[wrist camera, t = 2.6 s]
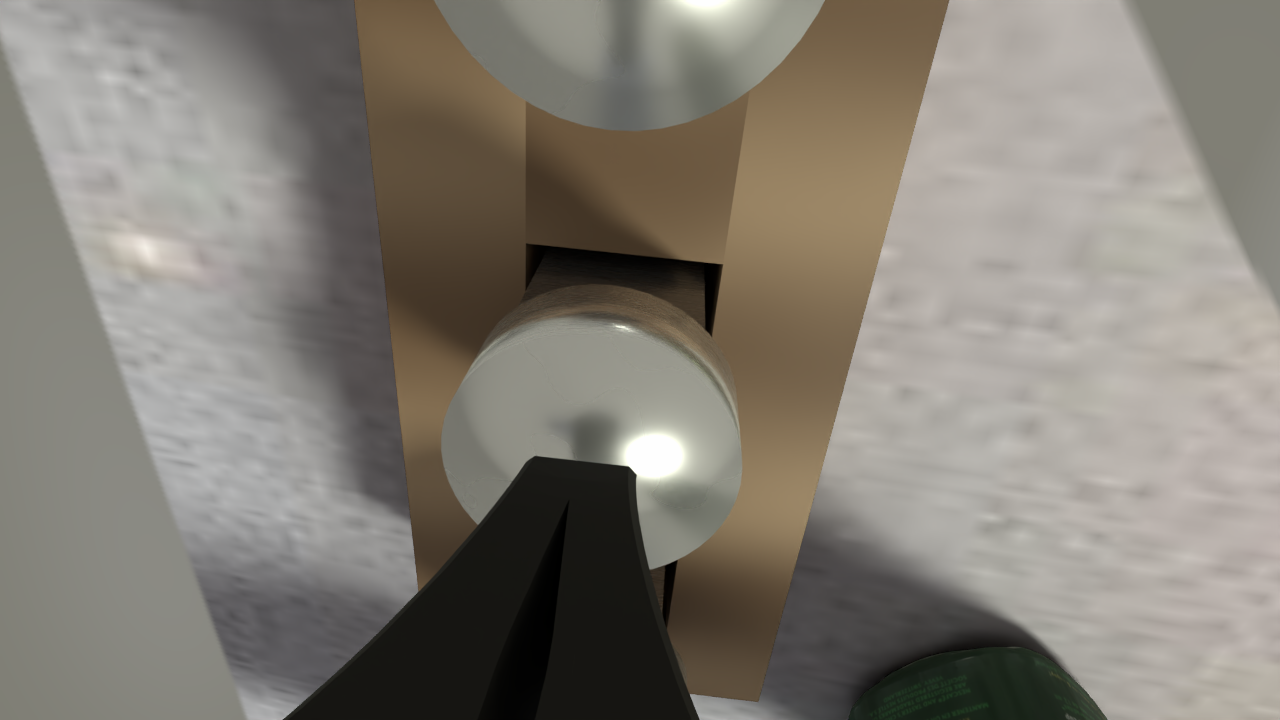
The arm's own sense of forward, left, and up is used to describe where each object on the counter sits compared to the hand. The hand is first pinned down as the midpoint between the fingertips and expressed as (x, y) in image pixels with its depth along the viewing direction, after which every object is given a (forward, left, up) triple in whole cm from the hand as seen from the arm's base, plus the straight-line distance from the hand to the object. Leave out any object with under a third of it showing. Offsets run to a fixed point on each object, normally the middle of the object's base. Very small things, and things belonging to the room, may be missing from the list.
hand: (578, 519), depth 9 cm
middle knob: (0, 0, -7) cm, 7 cm away
